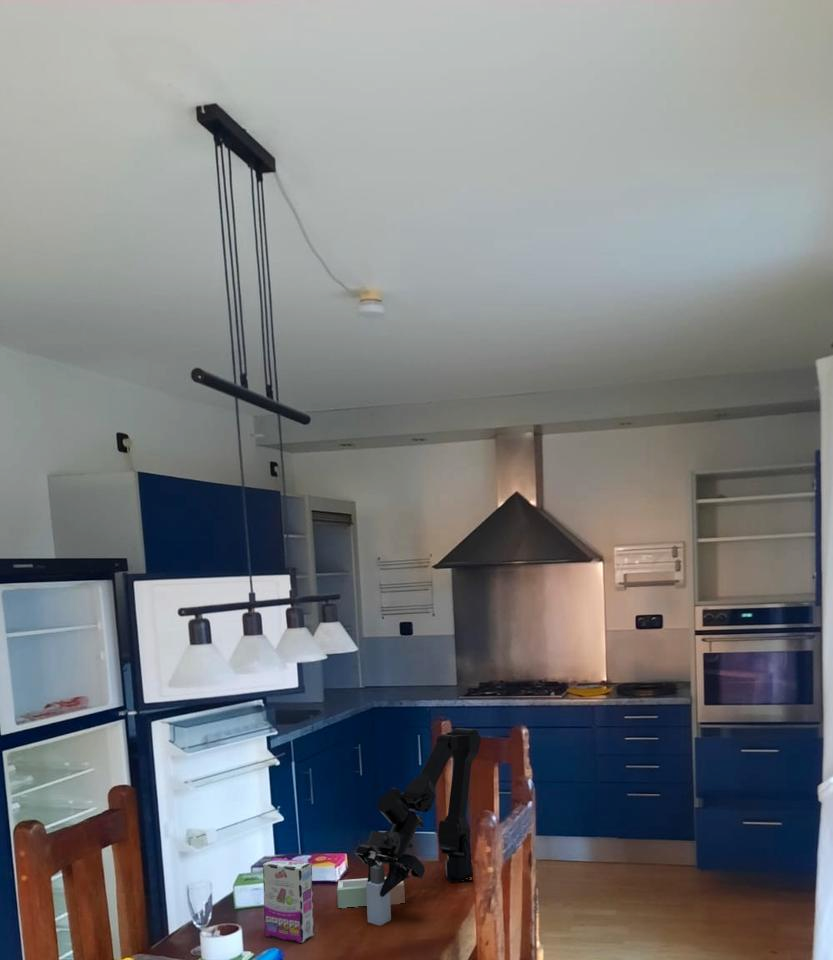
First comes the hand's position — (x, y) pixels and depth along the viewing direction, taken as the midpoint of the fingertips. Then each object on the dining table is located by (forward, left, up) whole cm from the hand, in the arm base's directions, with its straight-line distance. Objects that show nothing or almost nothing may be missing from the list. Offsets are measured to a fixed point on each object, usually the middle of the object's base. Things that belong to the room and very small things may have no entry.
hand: (374, 894), depth 200 cm
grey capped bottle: (-1, -1, -7) cm, 7 cm away
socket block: (+1, -16, -7) cm, 17 cm away
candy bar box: (+20, +3, -7) cm, 22 cm away
